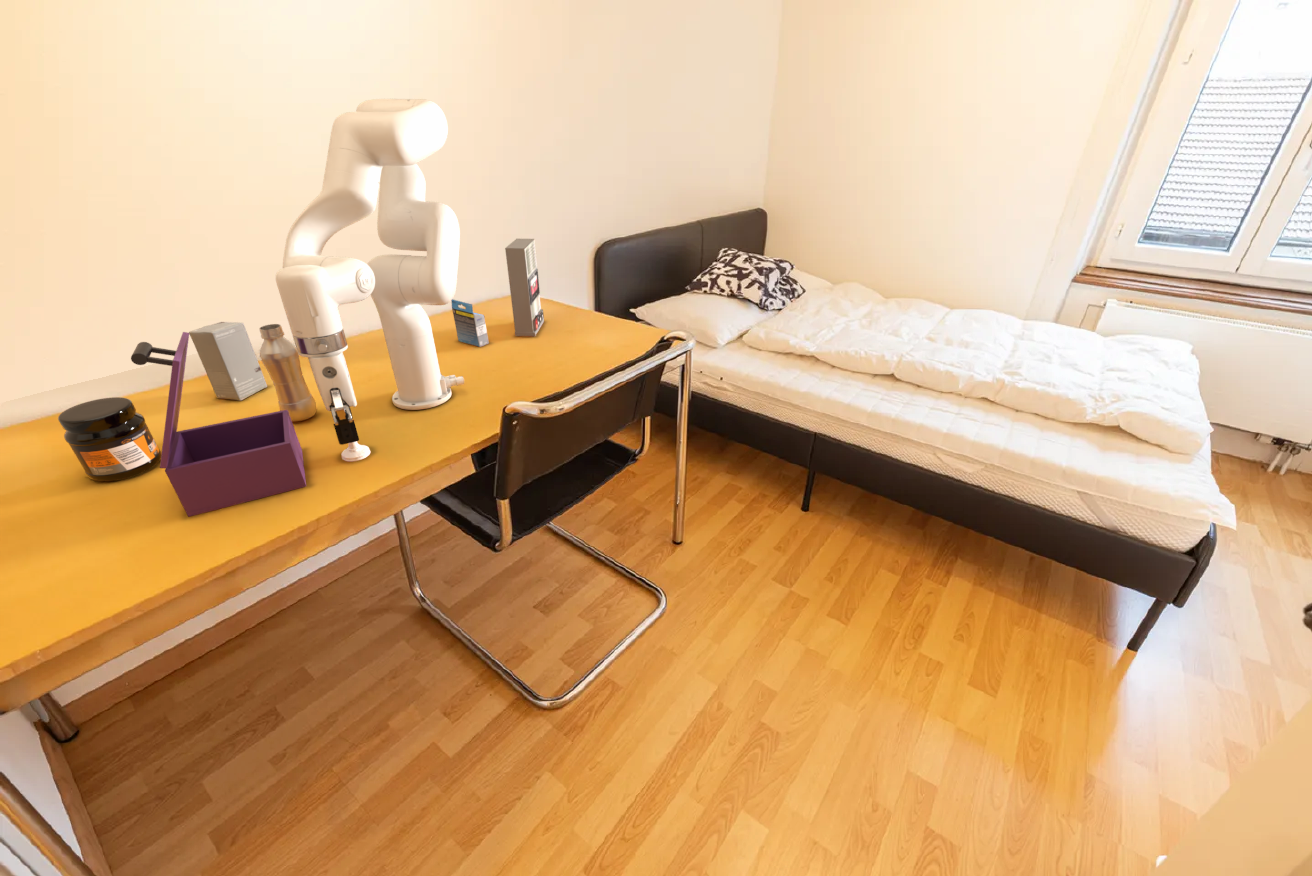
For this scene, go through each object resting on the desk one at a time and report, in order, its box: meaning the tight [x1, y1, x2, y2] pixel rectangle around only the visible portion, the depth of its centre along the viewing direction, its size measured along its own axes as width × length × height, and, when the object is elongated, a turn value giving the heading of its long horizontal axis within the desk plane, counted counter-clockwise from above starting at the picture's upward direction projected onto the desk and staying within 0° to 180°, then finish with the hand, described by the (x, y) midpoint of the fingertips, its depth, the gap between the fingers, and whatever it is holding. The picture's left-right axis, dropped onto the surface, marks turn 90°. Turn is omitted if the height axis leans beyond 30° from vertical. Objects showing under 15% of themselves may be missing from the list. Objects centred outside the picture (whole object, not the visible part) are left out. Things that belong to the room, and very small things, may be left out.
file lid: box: [130, 331, 190, 469], centre depth 86 cm, size 18×14×6 cm
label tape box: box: [450, 298, 490, 348], centre depth 155 cm, size 9×4×12 cm, turn 58°
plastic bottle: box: [259, 323, 318, 422], centre depth 114 cm, size 6×7×20 cm
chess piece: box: [341, 410, 371, 462], centre depth 103 cm, size 5×5×10 cm
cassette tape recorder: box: [504, 238, 545, 338], centre depth 163 cm, size 14×6×25 cm, turn 179°
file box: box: [164, 410, 307, 517], centre depth 96 cm, size 17×14×9 cm
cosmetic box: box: [188, 321, 268, 401], centre depth 125 cm, size 8×7×16 cm
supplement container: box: [57, 396, 162, 482], centre depth 98 cm, size 10×10×12 cm
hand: (346, 431), depth 103 cm, fingers open, 9 cm apart
